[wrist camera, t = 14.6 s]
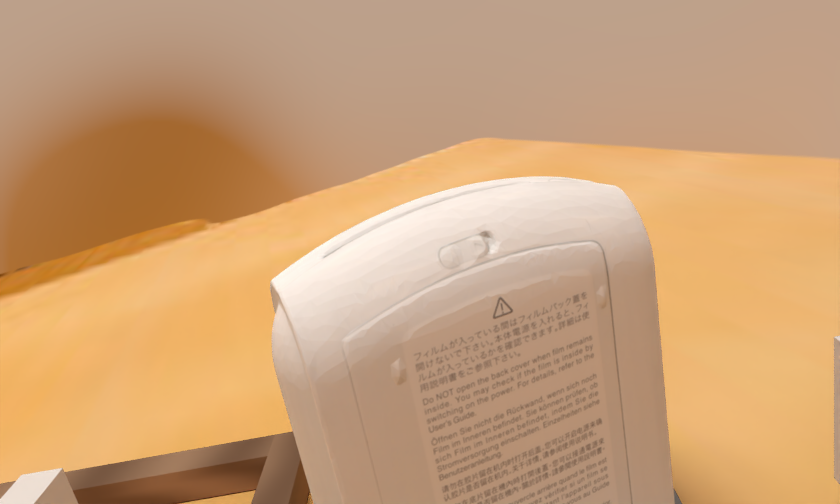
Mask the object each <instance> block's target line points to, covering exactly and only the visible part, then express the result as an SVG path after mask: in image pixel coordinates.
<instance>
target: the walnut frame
mask: <svg viewBox="0 0 840 504" xmlns="http://www.w3.org/2000/svg"><path fill="white" fill-rule="evenodd" d="M65 475H66V477H67V479H68V481H69V484H70V486H71V488H72V490H73V493H74V495H75V497H76V499H77V502H78V504H174V503H180V502H185V501H191V500H197V499H203V498H208V497H214V496H220V495H226V494H231V493H237V492H243V491H249V490H255V489H256V491H255V494H254V497H253V500H252V503H251V504H306V503H307V499H308V494H309V490H310V489H309V486H308V482H307V479H306V475H305V472H304V468H303V465H302V461H301V458H300V454H299V451H298V447H297V444H296V440H295V437H294V433H293V432H288V433H282V434H277V435H271V436H266V437H260V438H254V439H249V440H243V441H237V442H232V443H226V444H221V445H215V446H209V447H204V448H198V449H193V450H187V451H181V452H176V453H170V454H165V455H159V456H153V457H148V458H142V459H137V460H131V461H125V462H120V463H114V464H108V465H103V466H97V467H92V468H86V469H80V470H75V471H69V472H65ZM15 482H16V481H13V482H8V483H2V484H0V499H1V498H2V496H3V495H4V494H5V493H6V492H7V491H8V490H9V489H10V487H11V486H12V485H13V484H14V483H15Z"/></svg>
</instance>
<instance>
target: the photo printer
mask: <svg viewBox="0 0 840 504" xmlns="http://www.w3.org/2000/svg"><path fill="white" fill-rule="evenodd" d="M270 290H271V296H272V302H273V307H274V311H275V318H274V323H273V330H272V355H273V362H274V367H275V371H276V375H277V379H278V382H279V385H280V389H281V392H282V396H283V399H284V402H285V406H286V409H287V413H288V416H289V419H290V423H291V426H292V430H293V433H294V437H295V440H296V444H297V447H298V451H299V454H300V458H301V461H302V465H303V468H304V472H305V475H306V479H307V482H308V486H309V489H310V493H311V496H312V500H313V503H314V504H675V501H674V489H673V480H672V468H671V457H670V444H669V434H668V423H667V411H666V399H665V387H664V375H663V363H662V350H661V338H660V327H659V314H658V303H657V290H656V277H655V265H654V258H653V251H652V247H651V244H650V241H649V237H648V235H647V232H646V229H645V227H644V224H643V222H642V219H641V217H640V215H639V213H638V212H637V210H636V208H635V207H634V205H633V203H632V202H631V201H630V199H629V198H628V197H627V195H626V194H625V193H624V192H623V191H622V190H621V189H620V188H618V187H616V186H614V185H608V184H601V183H594V182H592V181H587V180H580V179H573V178H567V177H544V176H542V177H519V178H508V179H500V180H492V181H486V182H480V183H474V184H469V185H465V186H460V187H457V188H453V189H449V190H445V191H441V192H437V193H434V194H431V195H427V196H424V197H421V198H418V199H416V200H413V201H410V202H407V203H405V204H402V205H399V206H397V207H395V208H392V209H390V210H388V211H386V212H383V213H381V214H379V215H377V216H374V217H372V218H370V219H368V220H365V221H363V222H361V223H359V224H358V225H356V226H354V227H352V228H350V229H348V230H346V231H344V232H342V233H340V234H339V235H337V236H335V237H333V238H332V239H330V240H328V241H327V242H325V243H324V244H322V245H320V246H319V247H317V248H315V249H314V250H313V251H311V252H310V253H308V254H307V255H305V256H304V257H302V258H301V259H299V260H298V261H296V262H295V263H293V264H292V265H291V266H289V267H288V268H287V269H285V270H284V271H283V272H281V273H280V274H279V275H277V276H276V277H275V278H273V279H272V280H271V283H270Z"/></svg>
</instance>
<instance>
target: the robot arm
mask: <svg viewBox="0 0 840 504" xmlns="http://www.w3.org/2000/svg"><path fill="white" fill-rule="evenodd" d="M834 478H835V479H836V481H837V482H838V483H839V484H840V336H837V337H834ZM0 504H78V502H77V499H76V497H75V495H74V493H73V490H72V488H71V486H70V484H69V481H68V479H67V477H66V475H65V472H64V470H63V468H60V469H54V470H48V471H43V472H37V473H31V474H25V475H21V476H20V477H19V478H18V479H17V481H16V482H15V483H14V484H13V485H12V486H11V487H10V489H9V490H8V491H7V492H6V493H5V494H4V495H3V496H2V498H1V499H0Z"/></svg>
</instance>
